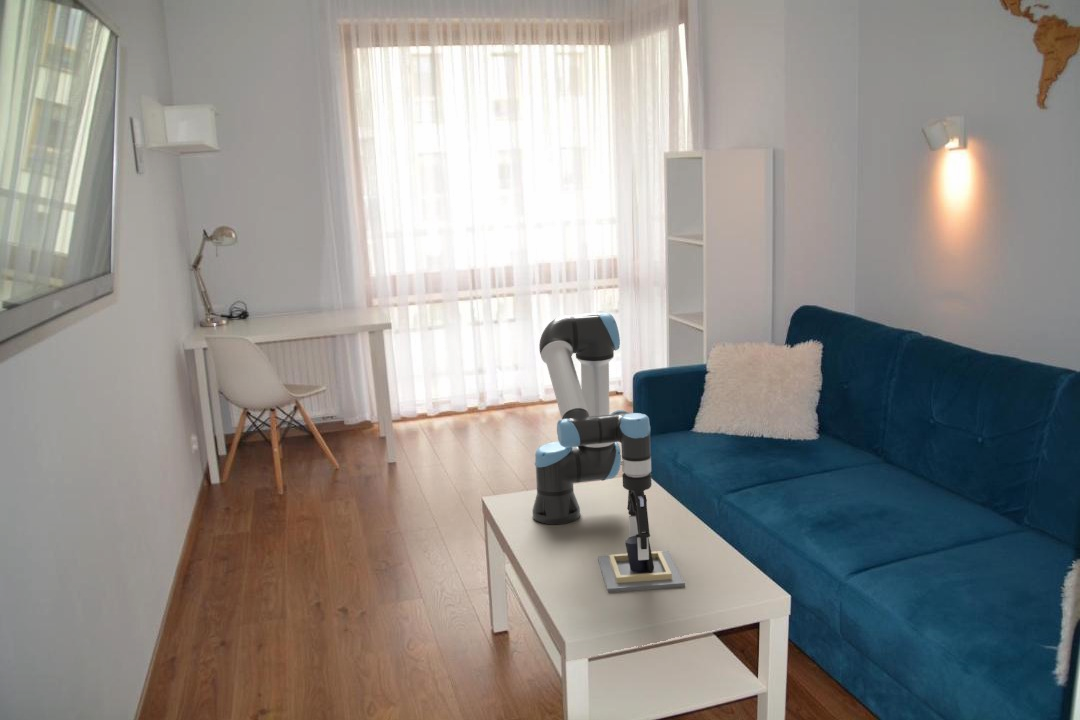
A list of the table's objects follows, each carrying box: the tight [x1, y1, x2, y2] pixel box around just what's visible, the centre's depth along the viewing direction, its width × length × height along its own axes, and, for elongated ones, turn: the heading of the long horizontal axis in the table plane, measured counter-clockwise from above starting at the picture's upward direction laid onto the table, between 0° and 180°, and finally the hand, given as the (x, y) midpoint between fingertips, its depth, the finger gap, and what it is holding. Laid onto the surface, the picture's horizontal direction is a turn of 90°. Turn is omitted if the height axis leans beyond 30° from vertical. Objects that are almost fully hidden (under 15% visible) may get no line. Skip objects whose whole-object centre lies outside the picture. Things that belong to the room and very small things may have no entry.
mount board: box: [597, 550, 686, 593], centre depth 231 cm, size 20×20×2 cm
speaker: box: [624, 536, 654, 573], centre depth 230 cm, size 8×6×10 cm
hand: (638, 548), depth 230 cm, fingers open, 13 cm apart
